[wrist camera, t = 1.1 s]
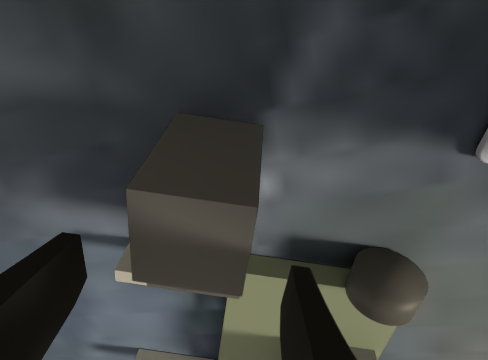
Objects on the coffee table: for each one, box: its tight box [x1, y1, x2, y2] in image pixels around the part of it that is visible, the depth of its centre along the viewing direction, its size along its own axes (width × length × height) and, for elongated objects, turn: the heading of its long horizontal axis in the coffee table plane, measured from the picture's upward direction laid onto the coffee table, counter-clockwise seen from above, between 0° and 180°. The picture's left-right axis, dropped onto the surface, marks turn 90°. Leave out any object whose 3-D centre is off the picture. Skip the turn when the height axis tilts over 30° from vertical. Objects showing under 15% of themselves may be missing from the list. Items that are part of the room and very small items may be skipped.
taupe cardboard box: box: [126, 113, 263, 299], centre depth 15 cm, size 4×6×6 cm, turn 173°
